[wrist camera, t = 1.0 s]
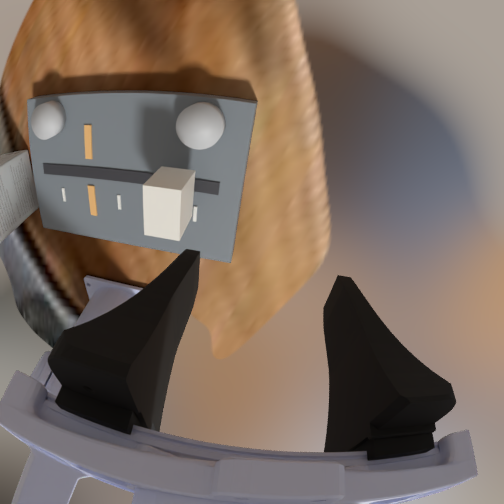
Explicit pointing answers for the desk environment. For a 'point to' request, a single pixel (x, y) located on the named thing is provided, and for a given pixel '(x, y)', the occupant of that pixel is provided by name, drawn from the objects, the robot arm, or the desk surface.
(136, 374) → the robot arm
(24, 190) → the skincare box
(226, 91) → the desk surface
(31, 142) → the console
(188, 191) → the fader tab
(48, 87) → the desk surface
